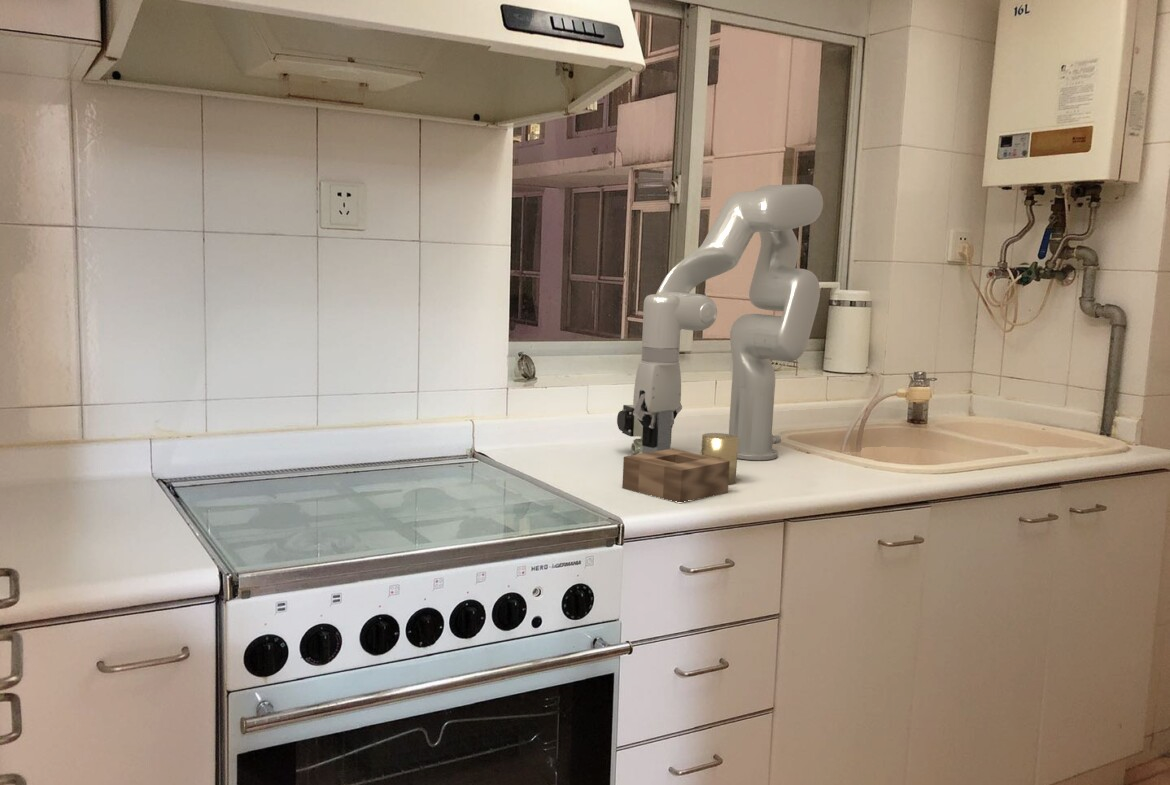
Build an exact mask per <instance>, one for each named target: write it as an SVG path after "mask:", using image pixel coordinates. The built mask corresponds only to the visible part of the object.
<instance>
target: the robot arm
mask: <svg viewBox="0 0 1170 785" xmlns="http://www.w3.org/2000/svg"><path fill="white" fill-rule="evenodd" d="M823 207H824V200H823V196H822V193H821V191H820V190H819V189H818V188H817V187H815V186H814V185H812V184H809V183H808V184H807V183H806V184H805V183H803V184H801V183H799V184H772V185H771V184H770V185H764V186H761V187H758V188H756V189H754V190H752V191H748V190H747V191H738V192H735V193H733V194H730V196H728V198H727V199H726V200H725V202H724V204H723V206H722V208H721V209H720V211H719V213H718V215H717V217H716V218H715V220H714V222H713V224H712V225H711V228H709V231H708V233H707V234H706V237H705V239H704V240H703V242H702V243H701V245H700V246H699V247H698V248H697V249H695V250H693V251H692V252H690V253H689V254H688V255H687V256H685V257H684V258H683V259H682V260H680V261H679V262H678V263H676V265H675V266H674V267H673V268H671V270H670V271H668V273H667V274H666V276H665V277H664V279H663V280H662V282H661V283H660V286H659V288H658V289H657V291H656V293H654V294H648V295H646V297H645V298H644V300H643V310H642V311H643V314H642V315H643V316H642V318H643V319H642V336H641V338H642V340H641V341H642V343H641V345H642V346H641V361H640V362H639V363H638V367H637V369H636V374H635V382H634V390H633V403H632V405H633V407H634V411H633V415H634V416H635V417H636V418H637V419H638V420H639V421H640V423H641V426H642V427H643V436H642V445H643V446H646V447H651V448H655V447H656V428H654V426H655V420H656V414H657V413H658V412H662V411H668V410H672V420H671V425H673V426H674V424H675V420H676V417H677V416H678V414H679V413H680V412H681V410H683V406H682V402H681V401H682V375H681V366H680V362H679V361H680V344H681V343H680V342H681V341H680V340H681V339H680V338H681V330H685V331H693V332H700V331H701V332H702V331H704V330H707V329H709V328H710V327H711V326H713V325H714V323H715V322H716V320H717V316H718V308H717V305H716V303H715V301H714V300H713V299H712V298H710V297H709V296H707V295H704V294H700V293H691V291H692V290H693V289H695V287H697V286H698V285H701V283H703V282H705V281H707V280H710V279H713V278H714V277H717V276H719V275H722V274H725V273H726V272H729V271H731V270H732V269H734V268H735V267H737V265H738V263H739V262H740V260H741V258H742V256H743V254H744V252H745V250H746V248H747V246H748V245H749V243H750V241H751V239H752V237H753V236H754V234H756V233H759V236H760V248H759V251H758V252H759V253H758V256H757V260H756V264H755V267H754V271H753V275H752V278H751V282H750V287H749V291H748V298H749V301H750V303H751V304H752V305H753V306H754V308H757V309H761V310H765V311H773V312H782V315H780V316H779V315H773V314H761V313H749V314H748V313H747V314H744V315H741V316H738V318H737V319H735V320H734V322H733V323H732V325H731V327H730V331H729V341H730V348H731V349H730V351H731V356H732V359H731V360H732V373H731V374H732V375H731V376H732V377H731V389H730V390H731V391H730V406H729V407H730V408H729V420H728V421H729V424H728V434H731V435H735V436H737V437H738V453H737V460H738V459H740V460H747V461H749V460H750V461H767V460H774V459H776V458H777V457H778V451H777V450H776V449H773V445H776V444H777V445H778V444H781V441H782V437H781V435H778V434H776V435H774V434H773V421H774V420H773V419H774V418H773V417H774V406H775V391H776V373H775V369H774V366H773V365H772V362H771V360H774V361H781V362H782V361H783V362H793V361H796V360H798V359H799V358H800V357H802V355H803V354H804V352H805V351H806V348H807V346H808V343H809V340H810V337H811V332H812V329H813V325H814V321H815V319H816V315H817V310H818V308H819V303H820V297H821V286H820V282H819V279H818V277H817V276H816V274H814V273H813V272H812V271H811V270H808V269H805V268H796V266H797V262H798V258H799V254H800V246H799V241H798V239H797V237H796V235H795V232H794V231H793V229H797V228H800V227H801V228H802V227H806V226H809V225H811V224H812V223H814V222H816V220H818V219H819V217H820V216H821V214H822V211H823ZM648 415H650V419H649V418H648ZM672 430H673V427H672V426H671V434H673V432H672Z"/></svg>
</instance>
